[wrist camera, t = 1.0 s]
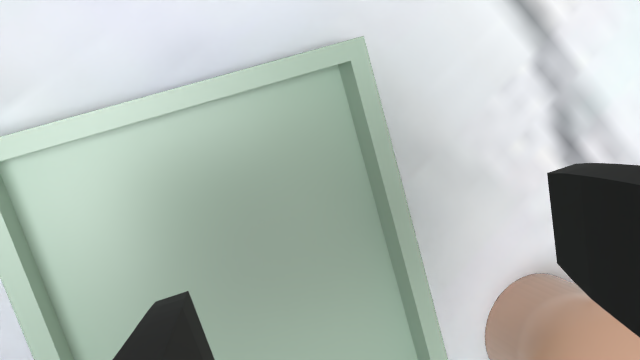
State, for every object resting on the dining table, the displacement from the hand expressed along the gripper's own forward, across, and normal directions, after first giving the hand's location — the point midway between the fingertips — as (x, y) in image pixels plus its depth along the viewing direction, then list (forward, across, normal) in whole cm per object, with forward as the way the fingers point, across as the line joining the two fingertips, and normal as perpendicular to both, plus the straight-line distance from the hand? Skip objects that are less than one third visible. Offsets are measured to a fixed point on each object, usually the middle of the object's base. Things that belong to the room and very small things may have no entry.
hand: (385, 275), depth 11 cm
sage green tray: (+13, +4, +6) cm, 15 cm away
